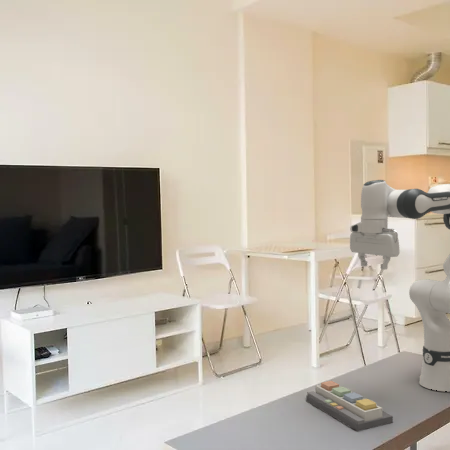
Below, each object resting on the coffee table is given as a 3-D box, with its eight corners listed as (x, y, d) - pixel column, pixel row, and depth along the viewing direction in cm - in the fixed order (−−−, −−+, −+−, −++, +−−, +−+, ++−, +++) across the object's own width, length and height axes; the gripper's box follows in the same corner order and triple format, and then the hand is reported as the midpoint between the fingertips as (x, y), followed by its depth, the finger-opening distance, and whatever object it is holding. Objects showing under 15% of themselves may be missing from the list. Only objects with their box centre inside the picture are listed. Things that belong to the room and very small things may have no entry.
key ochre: (366, 406, 173) (366, 398, 172) (376, 411, 169) (376, 403, 168) (355, 408, 171) (355, 400, 171) (365, 413, 167) (365, 405, 167)
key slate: (354, 399, 178) (354, 392, 178) (363, 404, 174) (363, 396, 174) (343, 401, 176) (343, 394, 176) (352, 406, 172) (352, 398, 172)
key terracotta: (331, 387, 189) (331, 380, 189) (339, 391, 185) (339, 384, 185) (321, 389, 187) (321, 382, 187) (328, 393, 183) (328, 386, 183)
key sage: (342, 393, 184) (342, 386, 184) (350, 397, 180) (350, 390, 180) (332, 395, 182) (332, 388, 182) (340, 400, 178) (340, 392, 178)
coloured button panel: (339, 394, 193) (339, 380, 193) (392, 422, 169) (392, 406, 169) (306, 400, 187) (306, 386, 187) (357, 431, 163) (357, 415, 163)
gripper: (404, 228, 177) (403, 270, 178) (360, 225, 195) (360, 264, 196) (390, 229, 174) (389, 272, 175) (346, 226, 192) (346, 265, 193)
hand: (373, 267), depth 185 cm, fingers open, 8 cm apart
